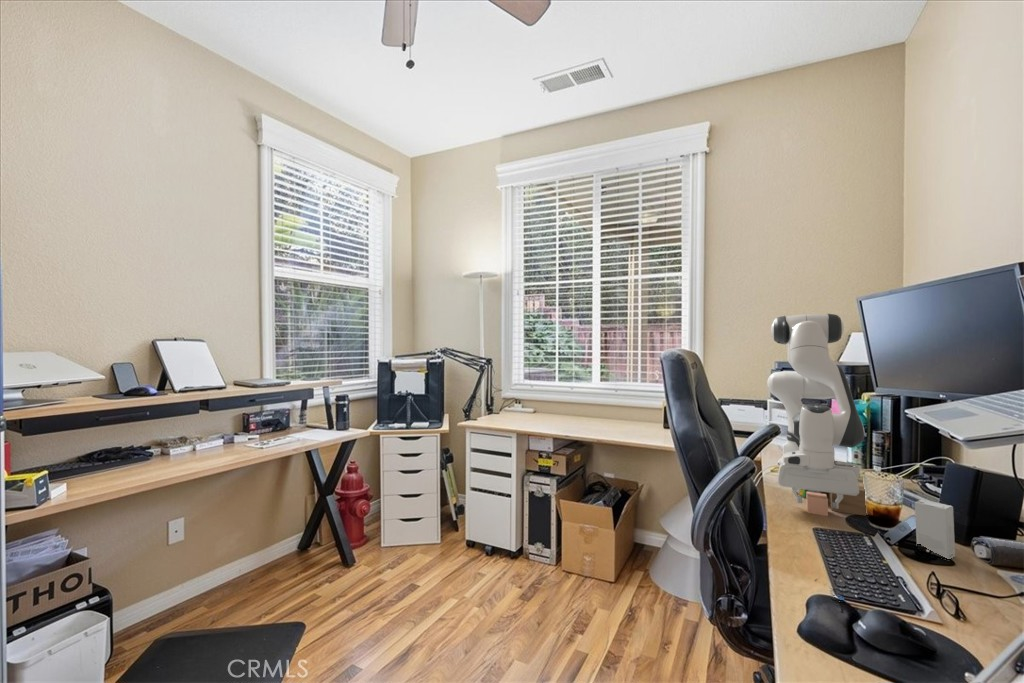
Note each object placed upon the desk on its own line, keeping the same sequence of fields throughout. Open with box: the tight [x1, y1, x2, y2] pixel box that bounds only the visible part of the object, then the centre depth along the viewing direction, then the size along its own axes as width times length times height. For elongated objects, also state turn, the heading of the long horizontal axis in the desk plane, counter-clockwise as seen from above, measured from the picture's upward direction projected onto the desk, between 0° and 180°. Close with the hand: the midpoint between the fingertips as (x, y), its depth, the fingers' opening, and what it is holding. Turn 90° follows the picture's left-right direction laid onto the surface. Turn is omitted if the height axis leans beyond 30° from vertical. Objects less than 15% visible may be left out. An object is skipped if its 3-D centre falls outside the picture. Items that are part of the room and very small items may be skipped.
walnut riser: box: [828, 482, 867, 517], centre depth 137 cm, size 8×10×7 cm
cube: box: [805, 492, 829, 517], centre depth 135 cm, size 5×5×5 cm
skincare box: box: [914, 498, 956, 560], centre depth 108 cm, size 6×4×12 cm
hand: (816, 505), depth 135 cm, fingers open, 8 cm apart
